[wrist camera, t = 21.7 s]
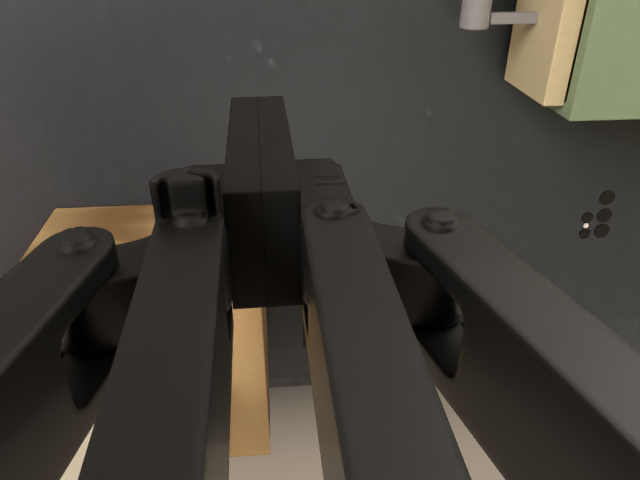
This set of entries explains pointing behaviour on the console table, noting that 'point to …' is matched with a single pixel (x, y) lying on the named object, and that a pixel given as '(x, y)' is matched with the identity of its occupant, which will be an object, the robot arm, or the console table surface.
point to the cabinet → (606, 65)
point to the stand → (247, 335)
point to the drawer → (535, 43)
